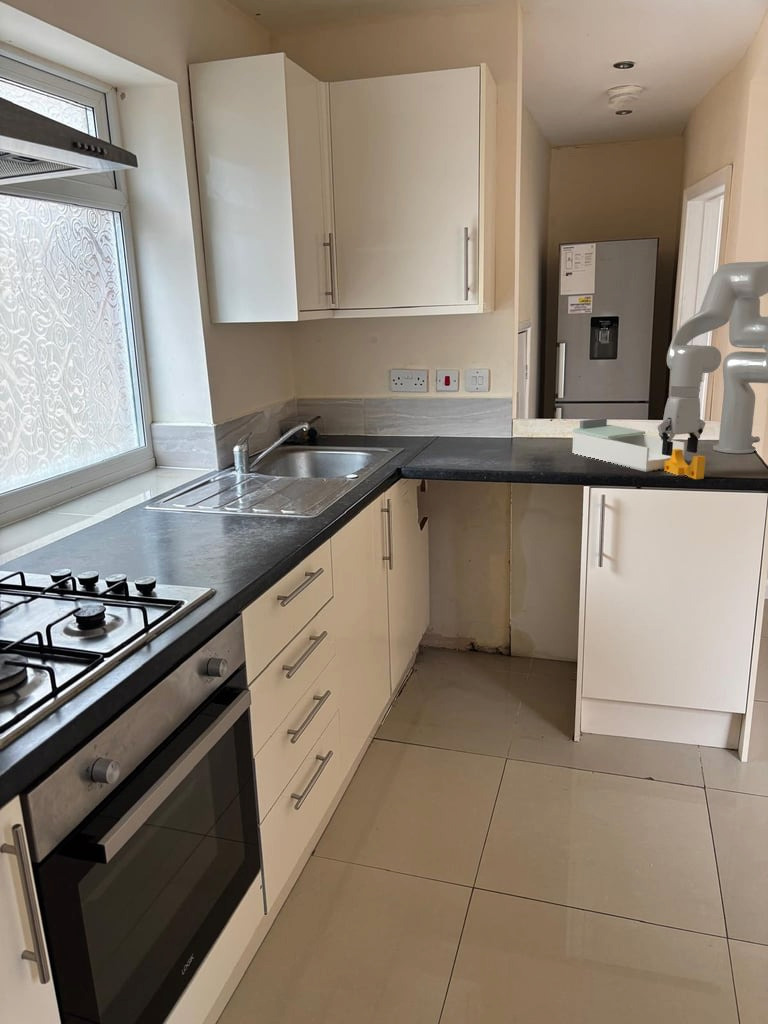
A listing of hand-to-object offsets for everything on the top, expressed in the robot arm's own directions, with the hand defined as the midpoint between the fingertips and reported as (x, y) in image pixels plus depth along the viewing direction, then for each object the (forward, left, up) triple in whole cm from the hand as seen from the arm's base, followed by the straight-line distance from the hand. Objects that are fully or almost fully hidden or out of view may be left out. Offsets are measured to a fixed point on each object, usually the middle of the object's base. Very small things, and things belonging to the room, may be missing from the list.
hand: (679, 453), depth 221 cm
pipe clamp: (-2, 0, -7) cm, 7 cm away
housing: (-4, -24, -6) cm, 25 cm away
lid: (-4, -32, +1) cm, 33 cm away
